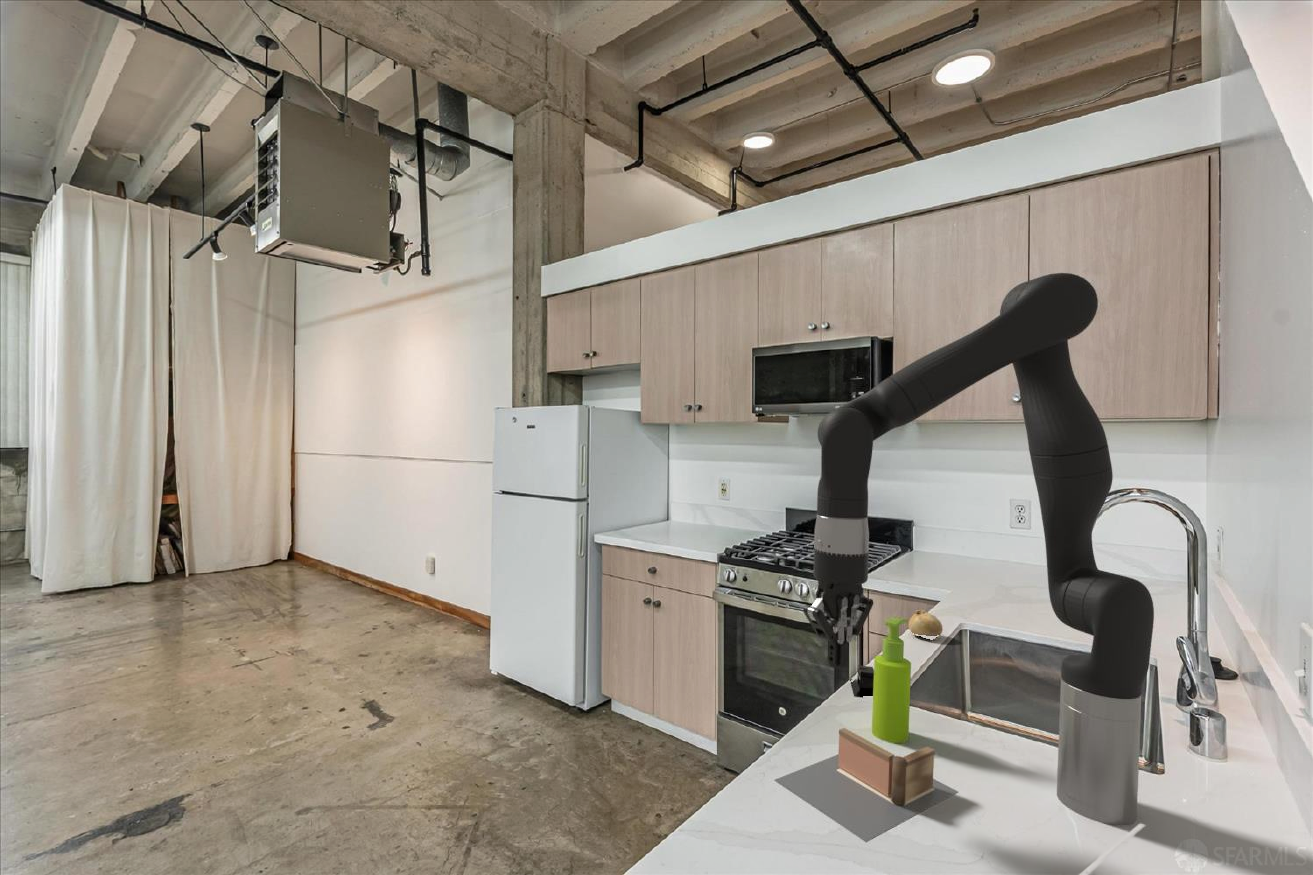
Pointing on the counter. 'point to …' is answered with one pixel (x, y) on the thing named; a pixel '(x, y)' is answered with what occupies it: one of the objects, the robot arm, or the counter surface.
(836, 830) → the counter surface
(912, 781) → the fixed fence section
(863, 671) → the black block
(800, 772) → the card
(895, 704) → the soap dispenser
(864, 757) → the hinged fence section
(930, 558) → the counter surface
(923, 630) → the onion
